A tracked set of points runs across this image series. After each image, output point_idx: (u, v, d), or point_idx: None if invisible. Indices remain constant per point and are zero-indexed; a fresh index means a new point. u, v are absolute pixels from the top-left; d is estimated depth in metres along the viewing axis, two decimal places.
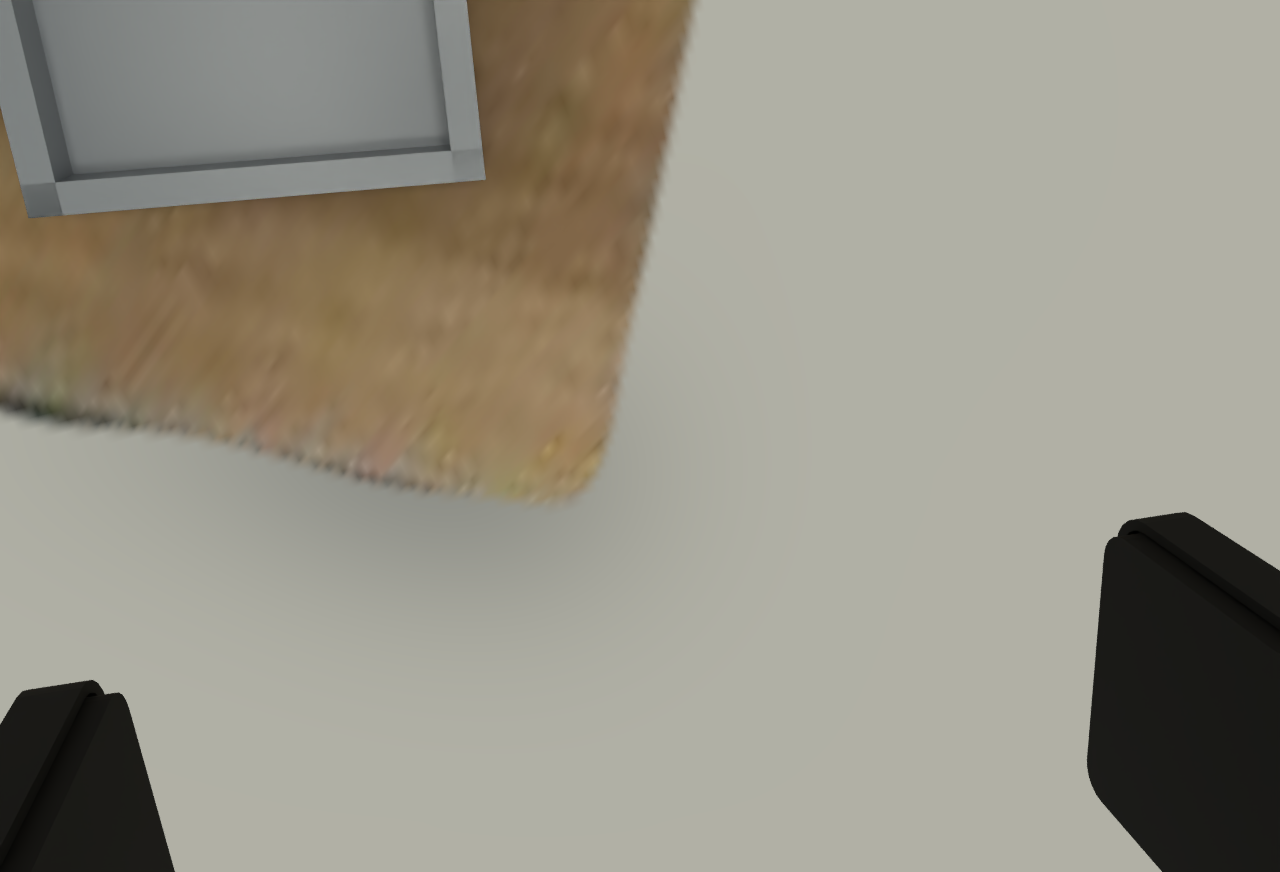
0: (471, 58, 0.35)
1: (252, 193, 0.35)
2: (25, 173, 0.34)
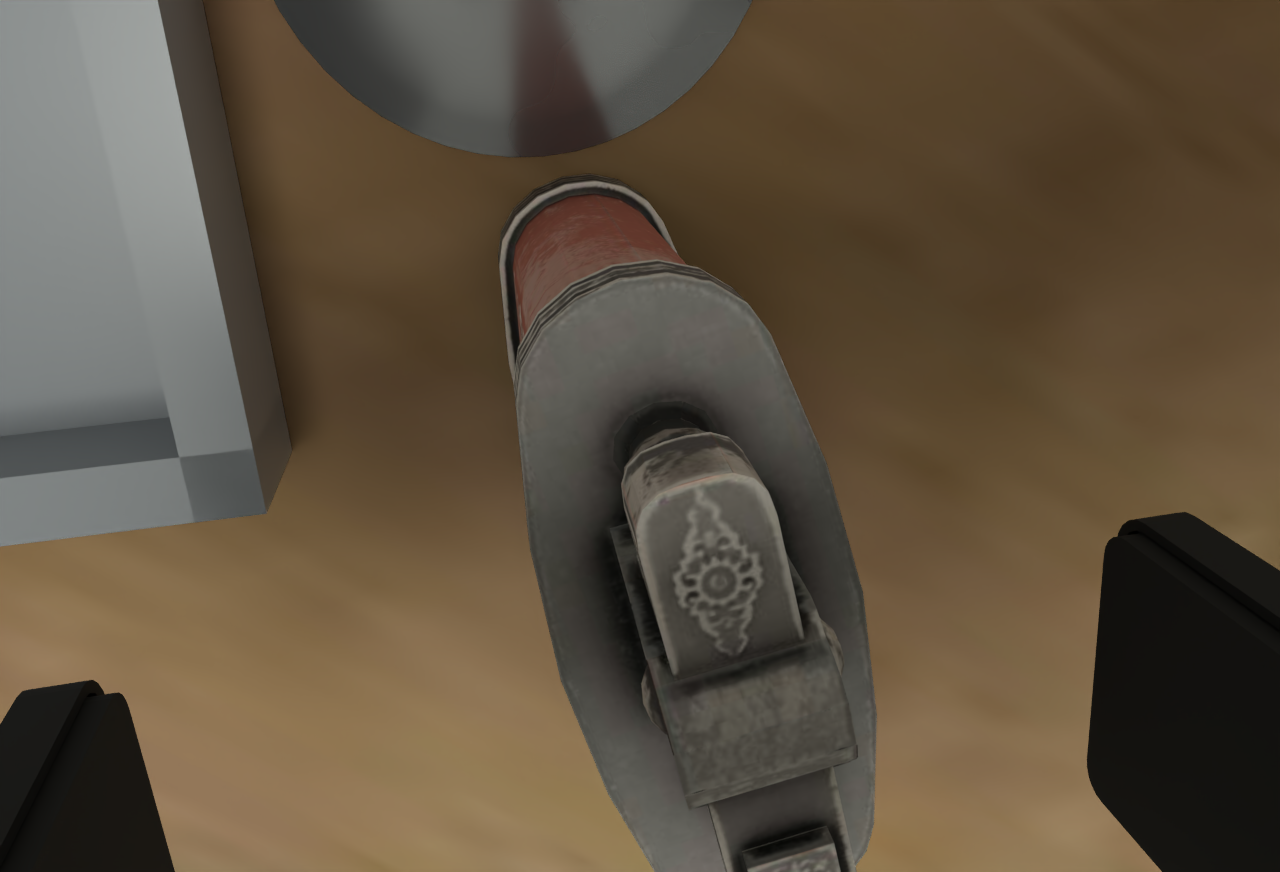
0: None
1: None
2: None
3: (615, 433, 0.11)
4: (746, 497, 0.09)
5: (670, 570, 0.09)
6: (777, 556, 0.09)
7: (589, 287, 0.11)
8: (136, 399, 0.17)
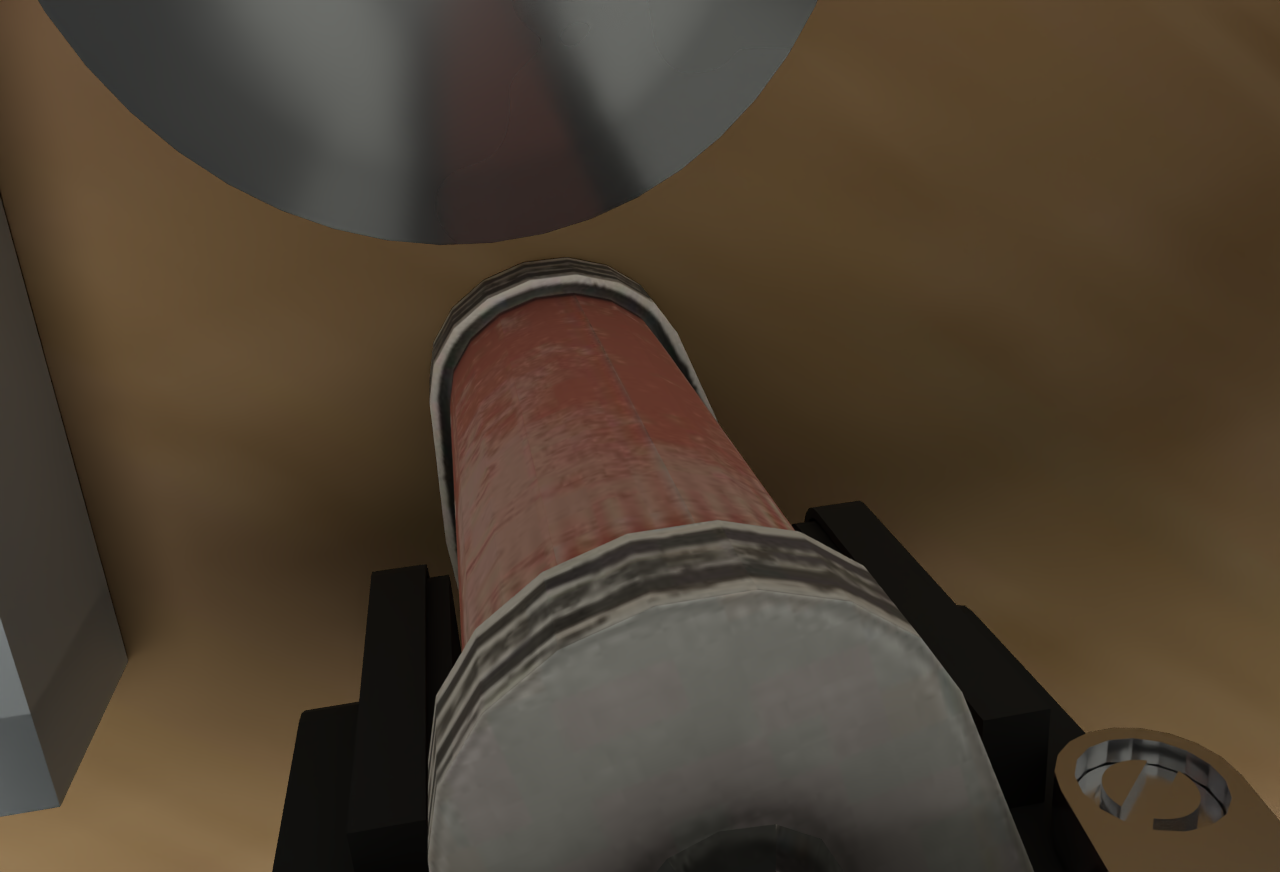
0: None
1: None
2: None
3: None
4: None
5: None
6: None
7: (583, 604, 0.05)
8: None
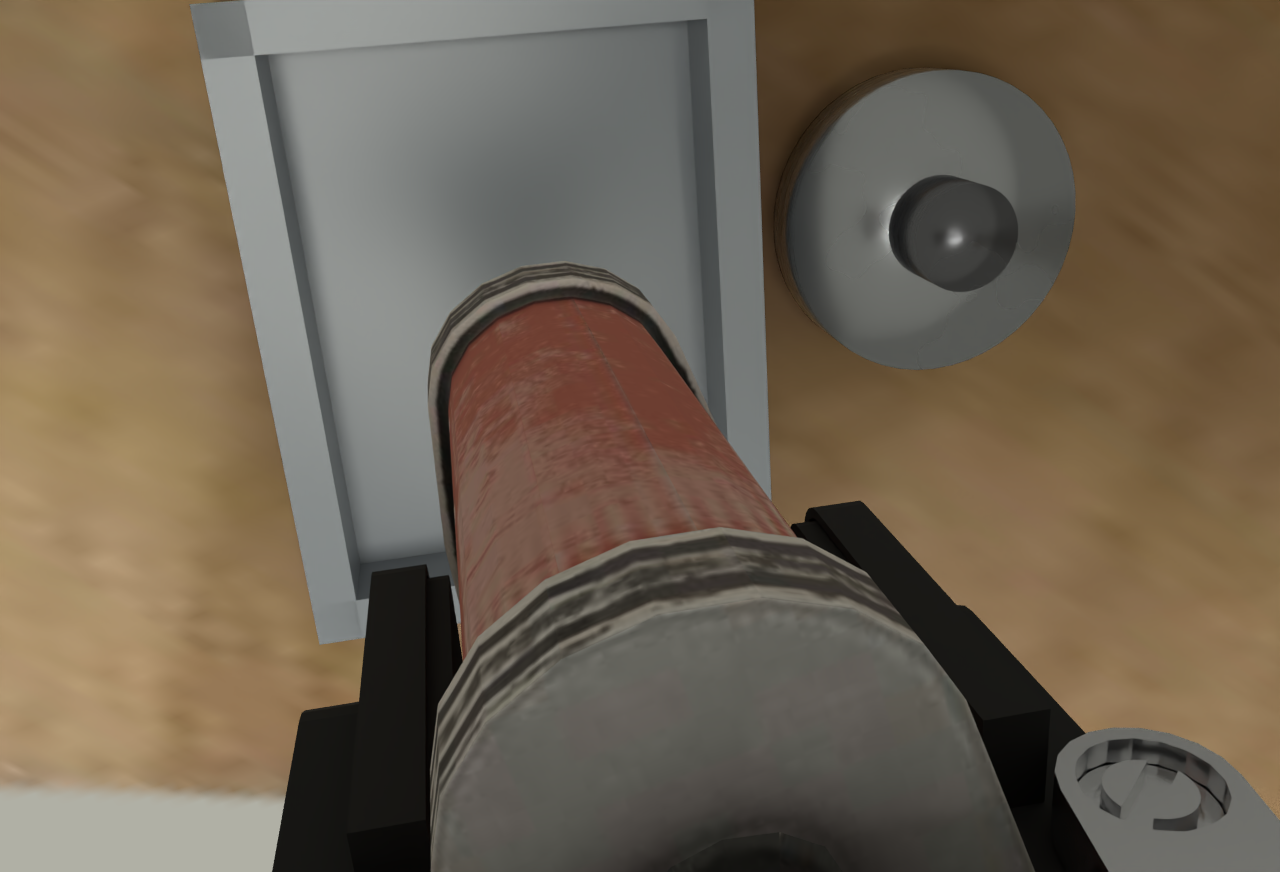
0: None
1: (267, 343, 0.24)
2: (264, 11, 0.21)
3: None
4: None
5: None
6: None
7: (586, 612, 0.05)
8: None
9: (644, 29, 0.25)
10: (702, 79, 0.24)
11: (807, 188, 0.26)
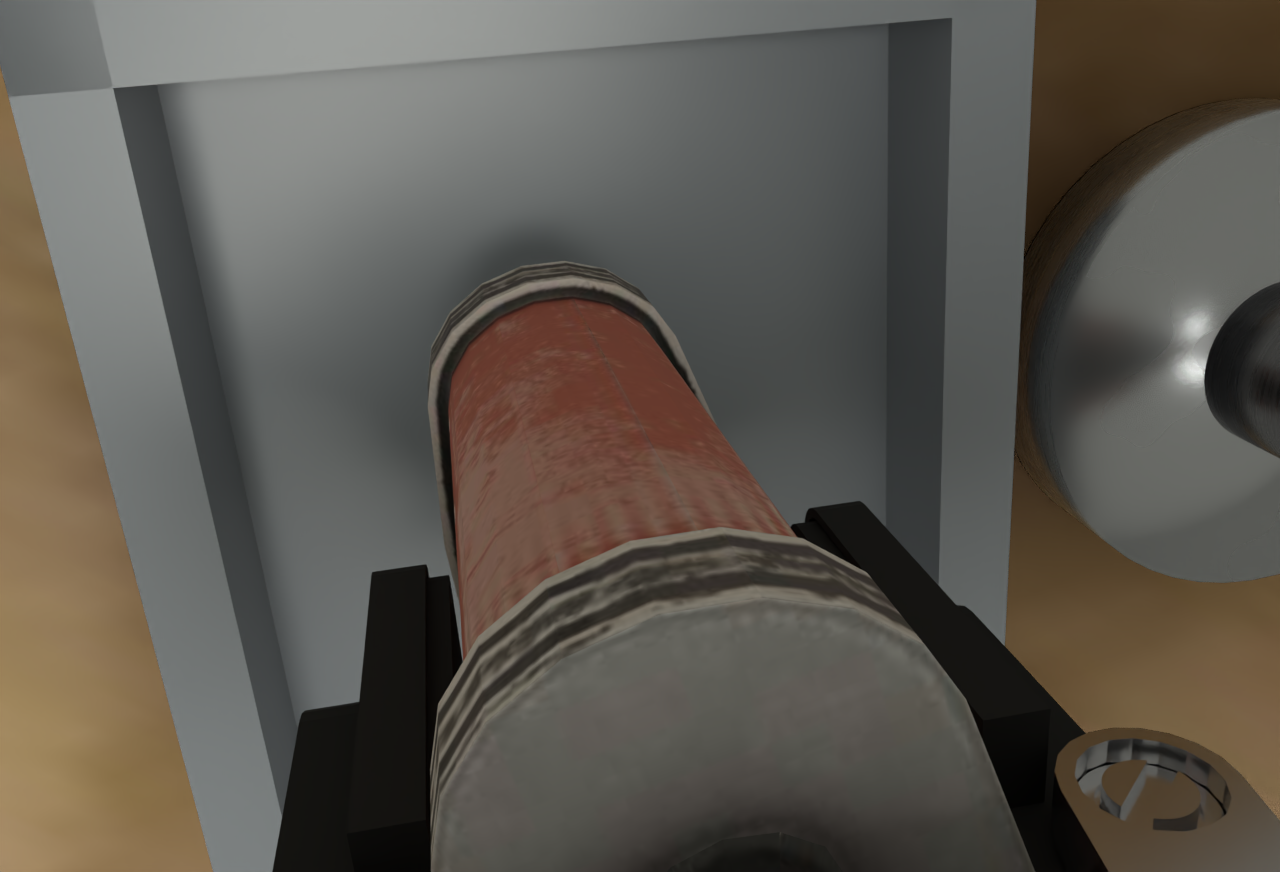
0: None
1: (156, 595, 0.13)
2: (129, 4, 0.11)
3: None
4: None
5: None
6: None
7: (586, 612, 0.05)
8: None
9: (816, 36, 0.14)
10: (924, 124, 0.14)
11: (1081, 304, 0.15)
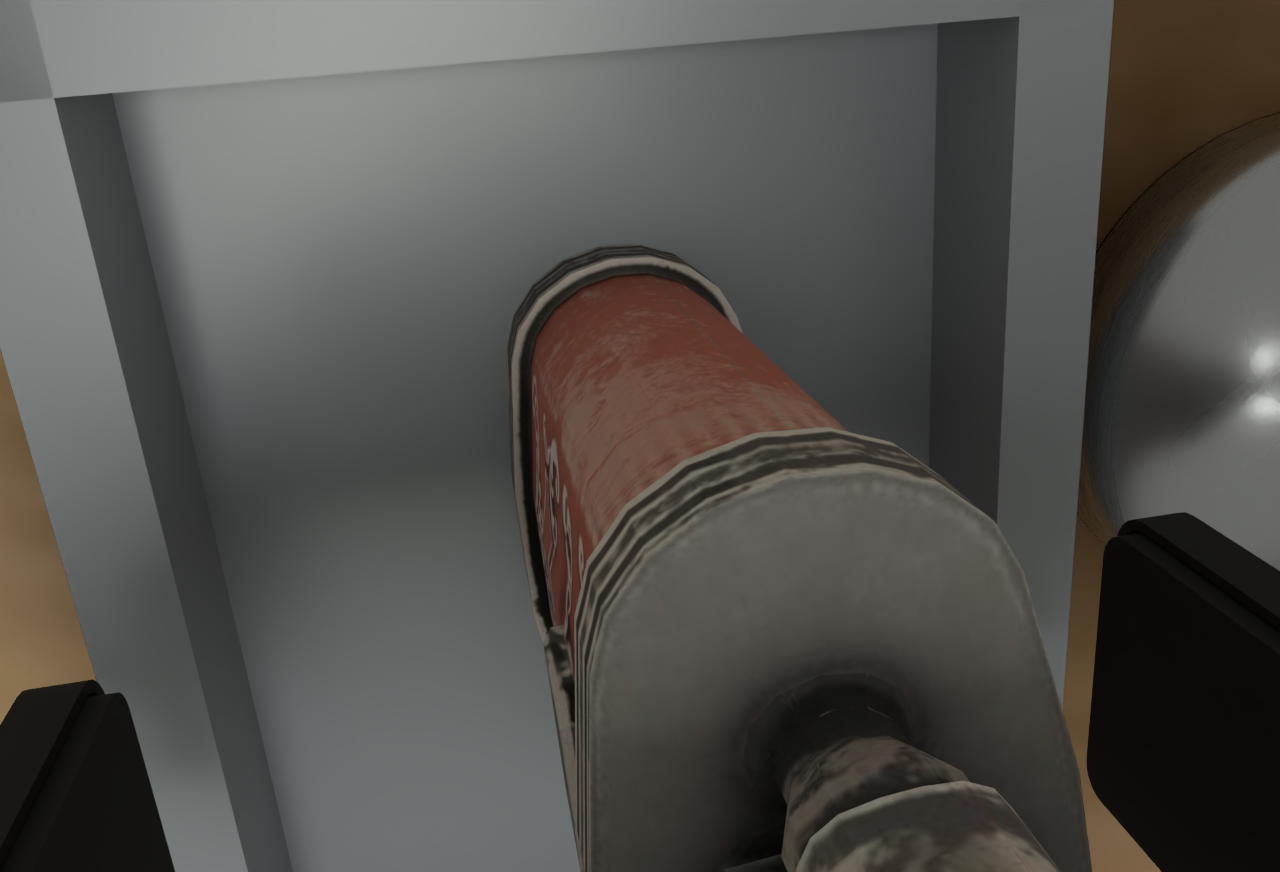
0: None
1: (113, 672, 0.12)
2: (71, 0, 0.10)
3: (751, 723, 0.07)
4: None
5: None
6: None
7: (726, 479, 0.06)
8: None
9: (857, 37, 0.13)
10: (982, 137, 0.12)
11: (1149, 335, 0.14)
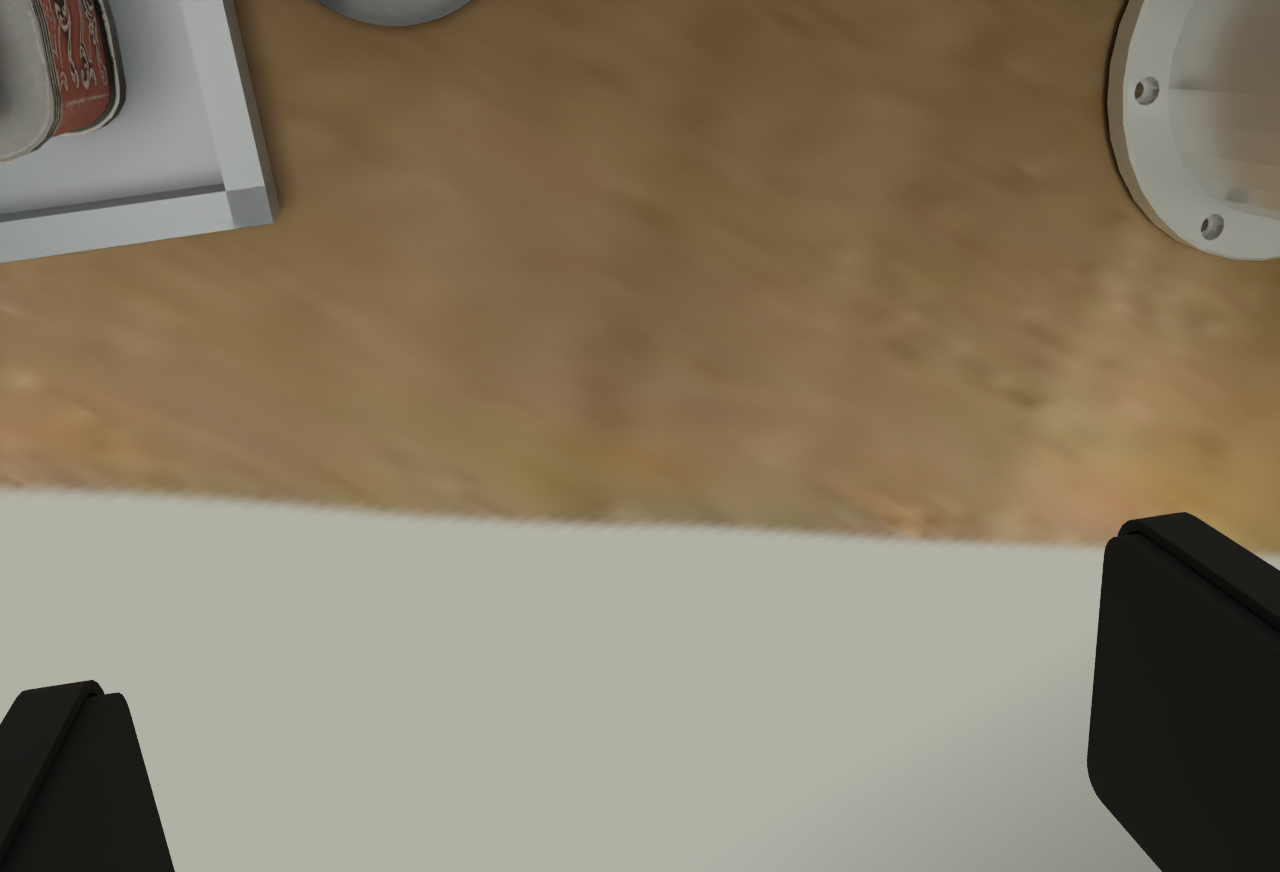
0: None
1: None
2: None
3: None
4: None
5: None
6: None
7: None
8: (194, 174, 0.31)
9: None
10: None
11: None
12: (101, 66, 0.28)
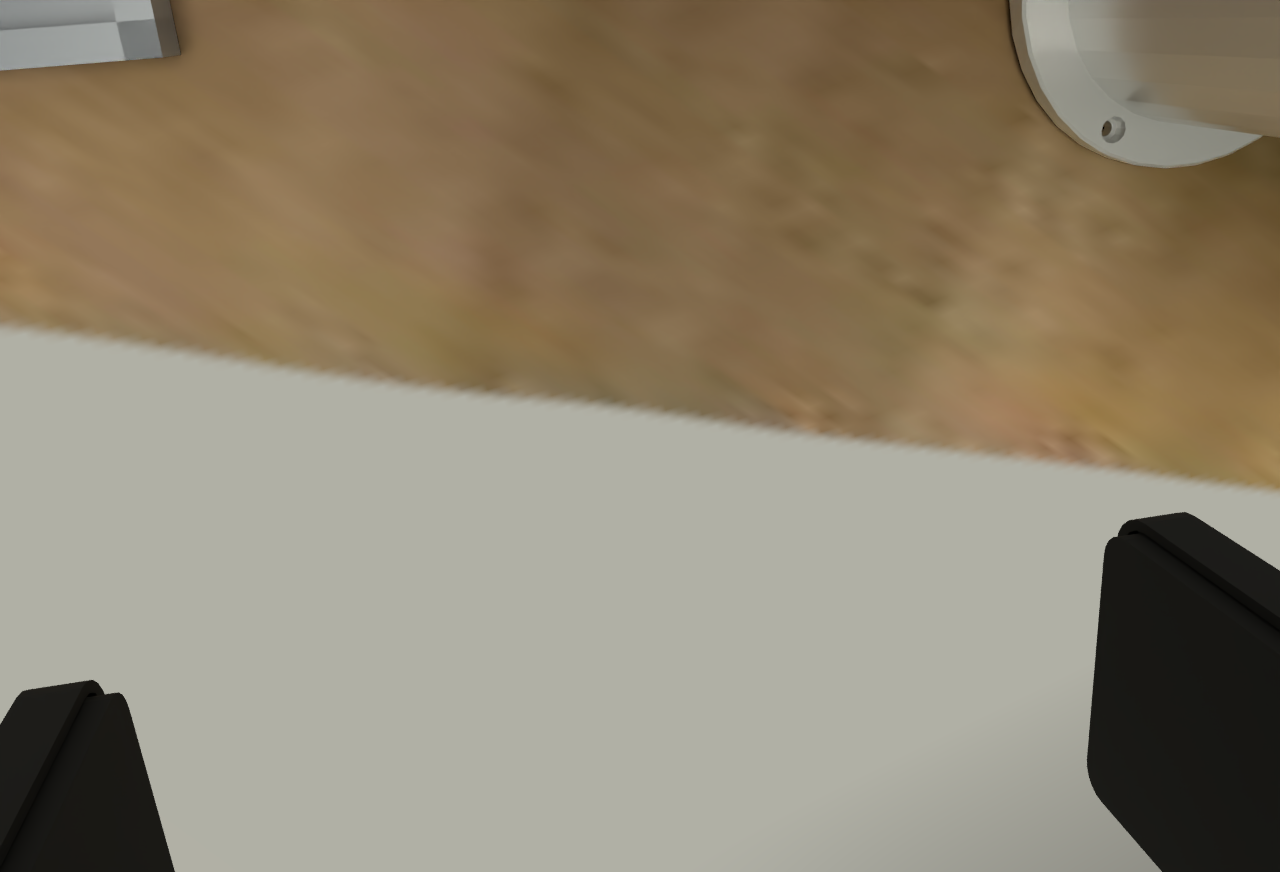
0: None
1: None
2: None
3: None
4: None
5: None
6: None
7: None
8: (93, 11, 0.32)
9: None
10: None
11: None
12: None
